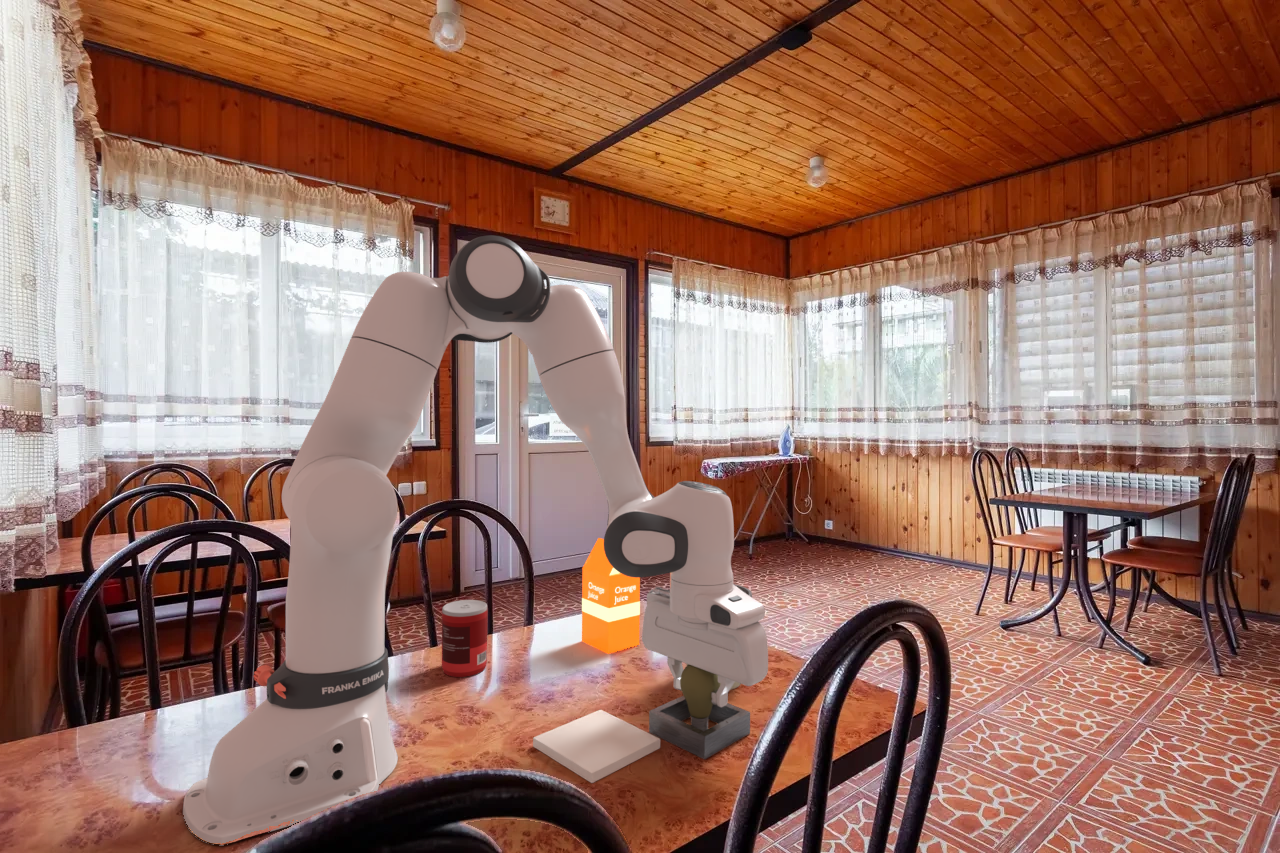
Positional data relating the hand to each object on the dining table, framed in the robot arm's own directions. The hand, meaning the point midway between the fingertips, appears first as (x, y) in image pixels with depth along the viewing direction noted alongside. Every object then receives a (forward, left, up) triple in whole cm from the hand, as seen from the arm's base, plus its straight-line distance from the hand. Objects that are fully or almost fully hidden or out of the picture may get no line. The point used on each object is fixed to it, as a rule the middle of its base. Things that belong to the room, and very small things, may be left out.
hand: (699, 696), depth 90 cm
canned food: (-12, +43, -5) cm, 45 cm away
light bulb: (0, 0, -5) cm, 5 cm away
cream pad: (-13, +7, -5) cm, 16 cm away
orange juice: (+15, +35, -5) cm, 38 cm away
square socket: (0, 0, -5) cm, 5 cm away
